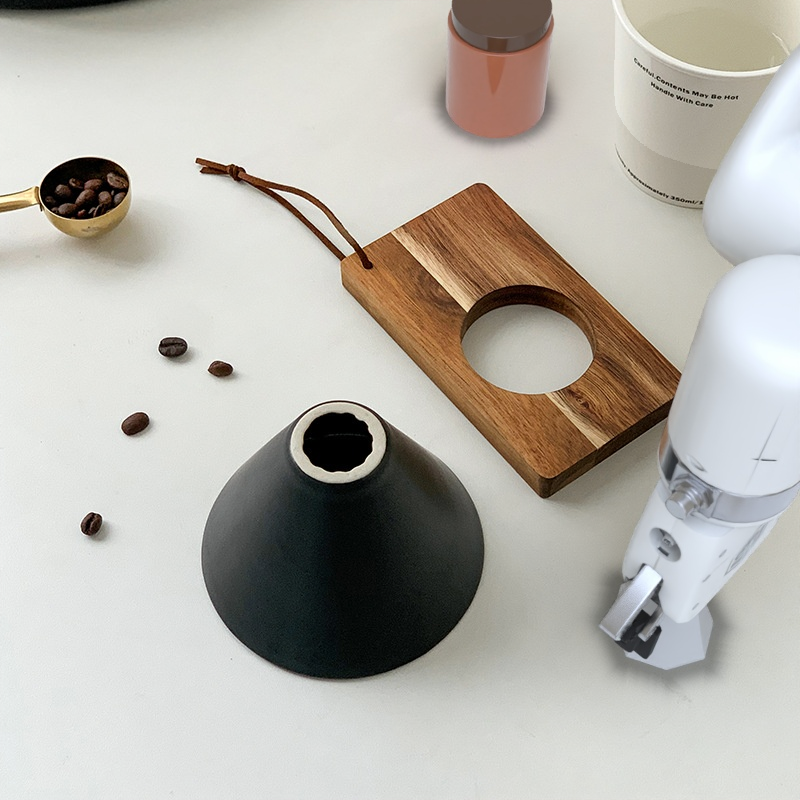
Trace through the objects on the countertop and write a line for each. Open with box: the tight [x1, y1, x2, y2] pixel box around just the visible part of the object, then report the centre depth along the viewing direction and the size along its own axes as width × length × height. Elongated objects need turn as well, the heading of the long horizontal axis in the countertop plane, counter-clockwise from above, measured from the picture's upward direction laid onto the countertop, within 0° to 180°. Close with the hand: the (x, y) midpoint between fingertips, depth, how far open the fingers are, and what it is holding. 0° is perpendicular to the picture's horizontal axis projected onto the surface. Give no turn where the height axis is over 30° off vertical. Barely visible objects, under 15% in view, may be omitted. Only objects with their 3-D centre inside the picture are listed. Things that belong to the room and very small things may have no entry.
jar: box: [445, 0, 555, 139], centre depth 104 cm, size 9×9×12 cm
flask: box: [616, 581, 714, 671], centre depth 77 cm, size 7×7×10 cm
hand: (674, 590), depth 76 cm, fingers open, 9 cm apart
